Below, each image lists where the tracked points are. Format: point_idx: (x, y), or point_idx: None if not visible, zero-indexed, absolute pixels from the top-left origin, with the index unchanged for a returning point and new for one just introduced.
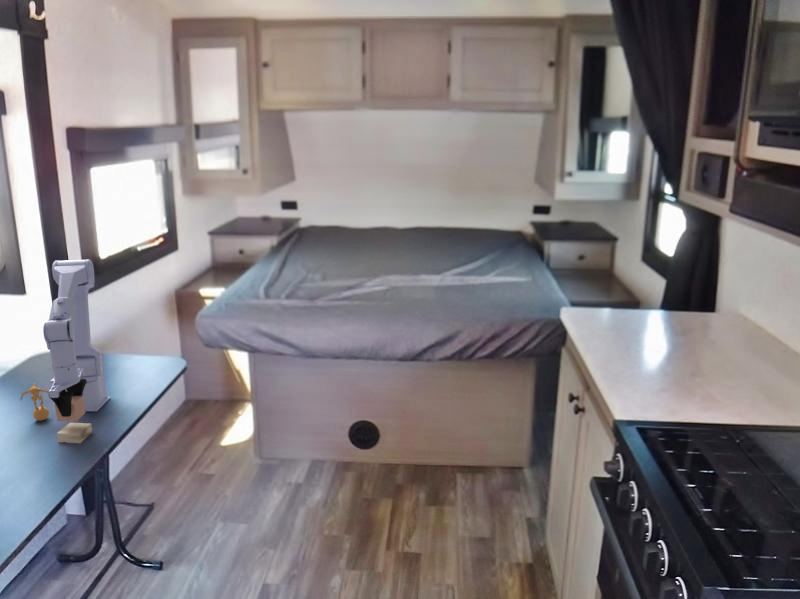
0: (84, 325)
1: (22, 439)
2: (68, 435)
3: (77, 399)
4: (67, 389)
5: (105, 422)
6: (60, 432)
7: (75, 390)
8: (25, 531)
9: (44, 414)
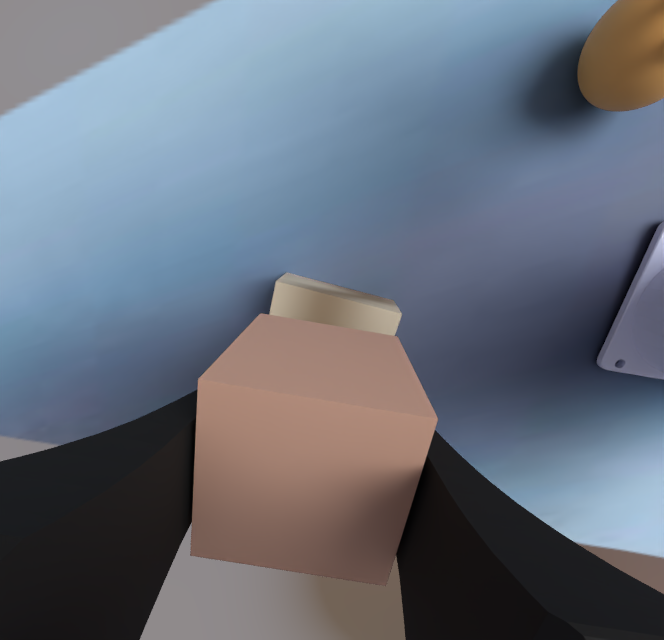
0: None
1: (346, 47)
2: None
3: (299, 562)
4: (463, 541)
5: (453, 423)
6: (281, 298)
7: (426, 607)
8: None
9: (603, 88)
